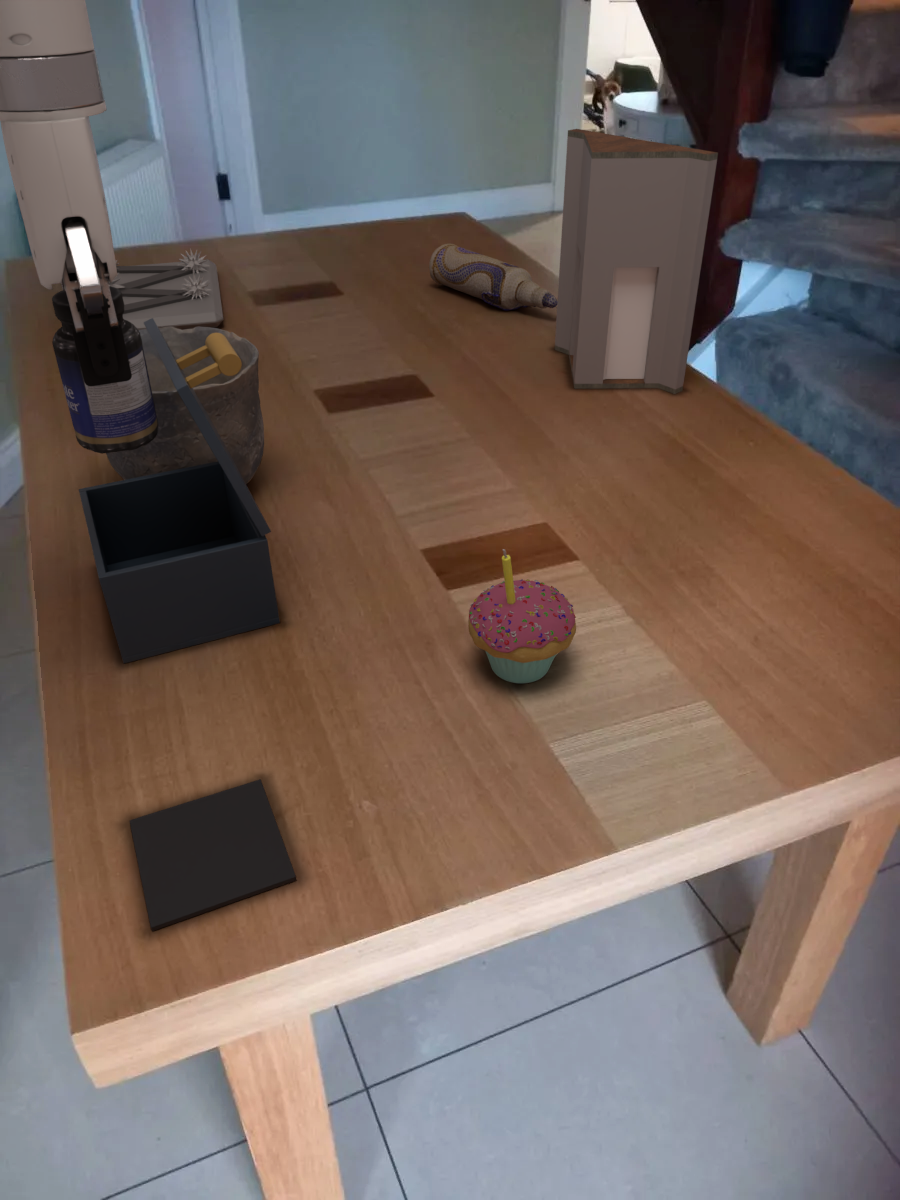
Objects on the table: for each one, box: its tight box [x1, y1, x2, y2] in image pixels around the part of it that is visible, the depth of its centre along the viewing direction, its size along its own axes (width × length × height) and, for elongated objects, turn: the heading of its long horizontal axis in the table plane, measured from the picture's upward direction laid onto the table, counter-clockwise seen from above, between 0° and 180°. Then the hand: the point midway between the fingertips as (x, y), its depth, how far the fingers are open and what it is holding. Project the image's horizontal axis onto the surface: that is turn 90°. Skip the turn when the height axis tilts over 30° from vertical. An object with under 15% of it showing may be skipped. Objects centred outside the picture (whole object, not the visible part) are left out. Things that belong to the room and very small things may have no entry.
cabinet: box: [554, 128, 719, 395], centre depth 114 cm, size 21×10×28 cm, turn 42°
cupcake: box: [467, 548, 577, 684], centre depth 71 cm, size 9×8×12 cm
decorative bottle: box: [428, 243, 558, 311], centre depth 144 cm, size 26×8×7 cm, turn 40°
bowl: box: [105, 326, 265, 485], centre depth 94 cm, size 18×18×15 cm
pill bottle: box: [51, 286, 158, 454], centre depth 68 cm, size 6×6×11 cm
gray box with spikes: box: [109, 247, 224, 330], centre depth 145 cm, size 30×22×7 cm
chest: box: [78, 461, 281, 664], centre depth 81 cm, size 13×15×9 cm
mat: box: [128, 779, 297, 932], centre depth 60 cm, size 9×9×1 cm
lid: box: [144, 318, 272, 536], centre depth 75 cm, size 14×15×5 cm
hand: (102, 363), depth 67 cm, fingers closed on pill bottle, 6 cm apart
